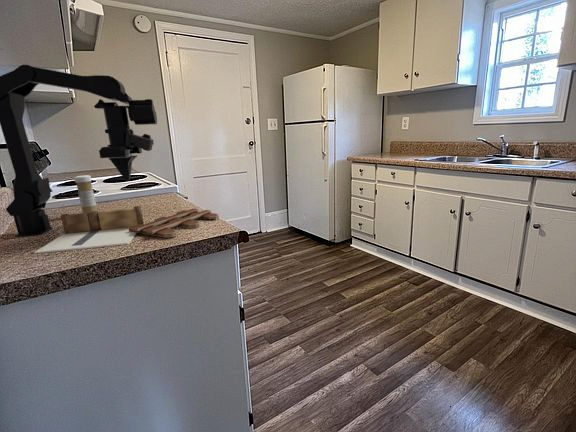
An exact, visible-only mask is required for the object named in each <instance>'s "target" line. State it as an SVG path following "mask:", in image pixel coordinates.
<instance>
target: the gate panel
mask: <svg viewBox="0 0 576 432" xmlns="http://www.w3.org/2000/svg"><path fill="white" fill-rule="evenodd" d="M98 215H99V220H100V225H101V229H102V230H105V229H116V228H127V227H132V226H135V225H138V224H141V225H143V224H145V223H144V217H143V211H142V206H141V205H135V206H133V207H132V208H123V209H113V210H112V209H111V210H110V209H109V210H100V211H98Z"/></svg>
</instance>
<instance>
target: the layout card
mask: <svg viewBox="0 0 576 432" xmlns="http://www.w3.org/2000/svg"><path fill="white" fill-rule="evenodd" d="M137 234H138V233H135V232H129V227H127V228H116V229H105V230H102V229H101V230H99V231H87V232H76V233H65V232H63V233H62V234H61V235H60V236H58V237H56V238H55V239H53V240H52V241H50V242H48V243H47V244H45V245H43V246H42V247H40V248H38V249H37V250H36V251H35V252H34V254H35V255H36V254H37V253H38V254H46V253H56V252H65V251H67V252H68V251H74V250H75V251H76V250H84V249H95V248H97V249H98V248H105V247H106V248H107V247H115V246H125V245H129V244H130V243H131V241H132V240H133V239H134V238H135V237H136V236H137Z"/></svg>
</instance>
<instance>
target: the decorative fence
mask: <svg viewBox="0 0 576 432" xmlns="http://www.w3.org/2000/svg"><path fill="white" fill-rule="evenodd" d="M216 218H217V220H219V219H220V216H219V214H218V213H214V212H212V210H210V209H205V210H202V211H199V209H198V208H190V209H188V210H186V209H184V210H180V211H177V212H176V213H175V214H172V215H170V216H161V217H157V218H155V219H154V220H153V221H150V222H147V223H144V224H143V225H141V224H138V225H135V226H132V227H129V232H135V233H137V234H142V235H147V236H154V237H160V238H174V237H177V236H178V235H177V233H178V232H177V231H176V229H173V227H181V228H187V229H194V228H199V227H200V225H201V224H200V222H199V221H198V219H199V220H206V219H209V220H208V221H211V220H210V219H216ZM218 218H219V219H218ZM195 219H197V220H195ZM158 225H159V226H158Z"/></svg>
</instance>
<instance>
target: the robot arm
mask: <svg viewBox="0 0 576 432" xmlns="http://www.w3.org/2000/svg"><path fill="white" fill-rule="evenodd" d="M38 85H44V86H45V85H46V86H52V87H57V88H63V89H67V90H69V89H70V90H75V91H81V92H87V93H89V94H93V95H95V96H99V97H101V98H104V99H107V100H111V101H110V102H107V101H106V102H105V101H104V100H103V99H101V98H99V99H98V101H97V103H95V105H94V106H93V108H95V109H97V110H103V115H104V118H105V125H106V129H104V133H105V134H107V136H108V141H109V144H107V146H102V147H101V148H100V149H99V150H98V153H99V158H100V159H108V160H109V161H111V163H112V164H113V166H114V167H115V168H116V170H117V172H119V174H120V175H121V177H122V178H123V179H124V180H125V182H128V181H129V182H130V180H131V175H132V174H131V173H132V164H133V161H134V160H135V159H136V158H137V157H138V155H137V154H139V155H140V154H143V151H147V152H150V151H152V149H153V146H154V144H155V143H154V139H152V137H151V134H148V133H143V135H137V134H135V133H134V132H135V131H134V130H133V128H131V127H130V122H133V124H134V125H135V126H138V125H139V126H140V125H141V126H142V125H144V126H145V125H157V124H158V116H157V112H156V110H155V109H156V108H155V106H154V100H153V99H152V98H148V99H132V97H131V96H129V95H128V94H127V92H126V88H125V85H123V83H122V82H121V81H119V80H118V79H116V78H114V76H111V75H98V74H93V75H79V74H76V73H74V74H73V73H68V72H63V71H58V70H52V69H47V68H43V67H36V66H32V65H29V64H20V66H18V67H17V68H15V69H13V70H11V71H9V72H7V73H4V74H2V75H0V129H1V132H2V135H3V138H4V141H5V145H6V148H7V151H8V155H9V158H10V161H11V164H12V168H13V170H14V171H13V172H14V176H15V177H14V180H13V187H12V188H13V189H12V190H13V200H12V202H10V204H8V206H7V207H6V208H5V211H6V212H7V214H8V215H9V216H10V217H13V221H14V224H15V227H16V231H17V233H16V234H14V237H27V236H28V237H29V236H38V235H42V234H44V233H46V232H48V231H49V230H52V229H53V226H51V223H50V219H49V216H48V214H46V212H45V209H46V205H47V202H48V201H49V200H50V199H51V195H52V194H51V193H52V192H53V190H52V188H51V186H50V180H49V178H48V177H46V178H42V176H41V175H40V174H39V173H38V169H37V166H36V163H35V158H34V156H33V152H32V149H31V145H30V142H29V139H28V134H27V131H26V128H25V124H24V120H23V118H24V113H25V110H26V109H25V98H26V97H28V96H30V94H32V93H33V90H34V89H35V88H36V87H37V86H38ZM112 101H113V102H112ZM118 102H119V103H122V104H125V105H119V104H118ZM129 120H130V121H129ZM142 150H143V151H142ZM133 154H136V155H133Z"/></svg>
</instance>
